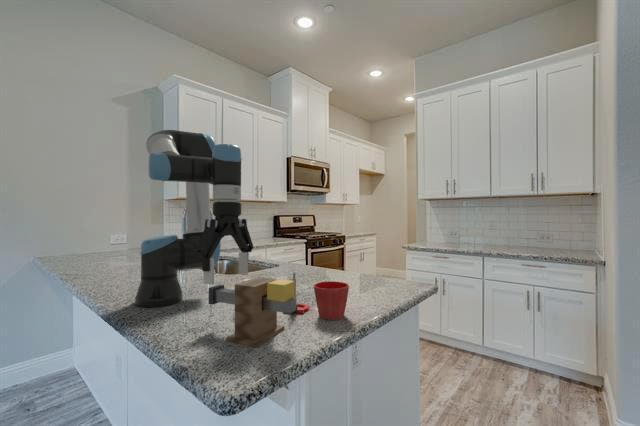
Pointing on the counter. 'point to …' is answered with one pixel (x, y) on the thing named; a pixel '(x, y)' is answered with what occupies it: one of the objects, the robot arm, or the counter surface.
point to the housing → (253, 314)
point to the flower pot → (331, 299)
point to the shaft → (288, 306)
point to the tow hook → (300, 310)
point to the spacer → (280, 290)
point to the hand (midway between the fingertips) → (227, 279)
